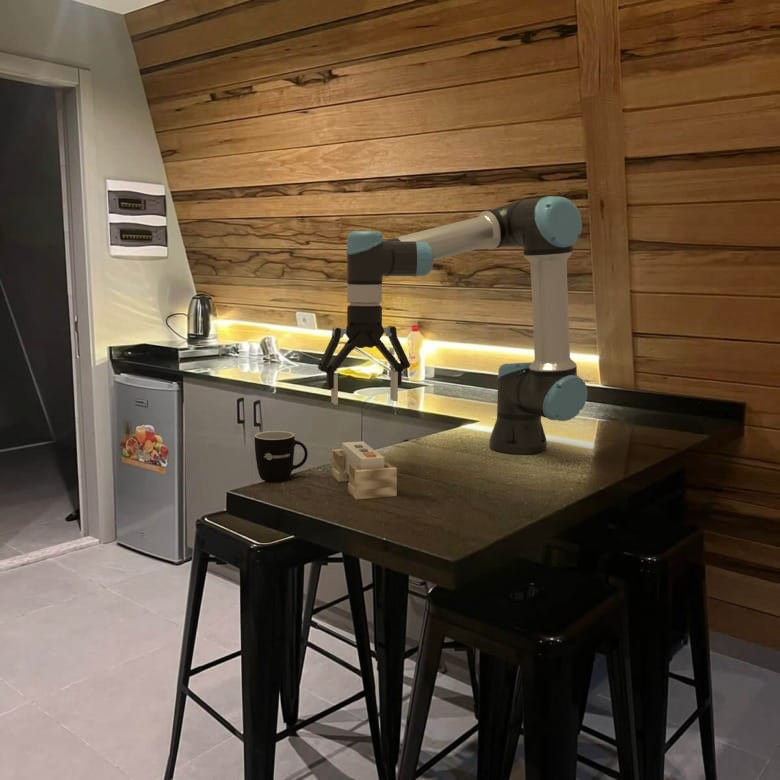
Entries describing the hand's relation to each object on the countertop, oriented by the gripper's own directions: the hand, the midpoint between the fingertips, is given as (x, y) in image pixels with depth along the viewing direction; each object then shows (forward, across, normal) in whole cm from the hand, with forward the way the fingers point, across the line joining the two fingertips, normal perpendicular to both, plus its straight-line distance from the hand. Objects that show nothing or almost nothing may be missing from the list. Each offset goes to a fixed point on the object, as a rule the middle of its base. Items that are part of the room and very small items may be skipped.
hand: (364, 401), depth 174 cm
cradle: (+19, +1, 0) cm, 19 cm away
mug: (+19, +16, -11) cm, 27 cm away
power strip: (+17, +1, 0) cm, 17 cm away
